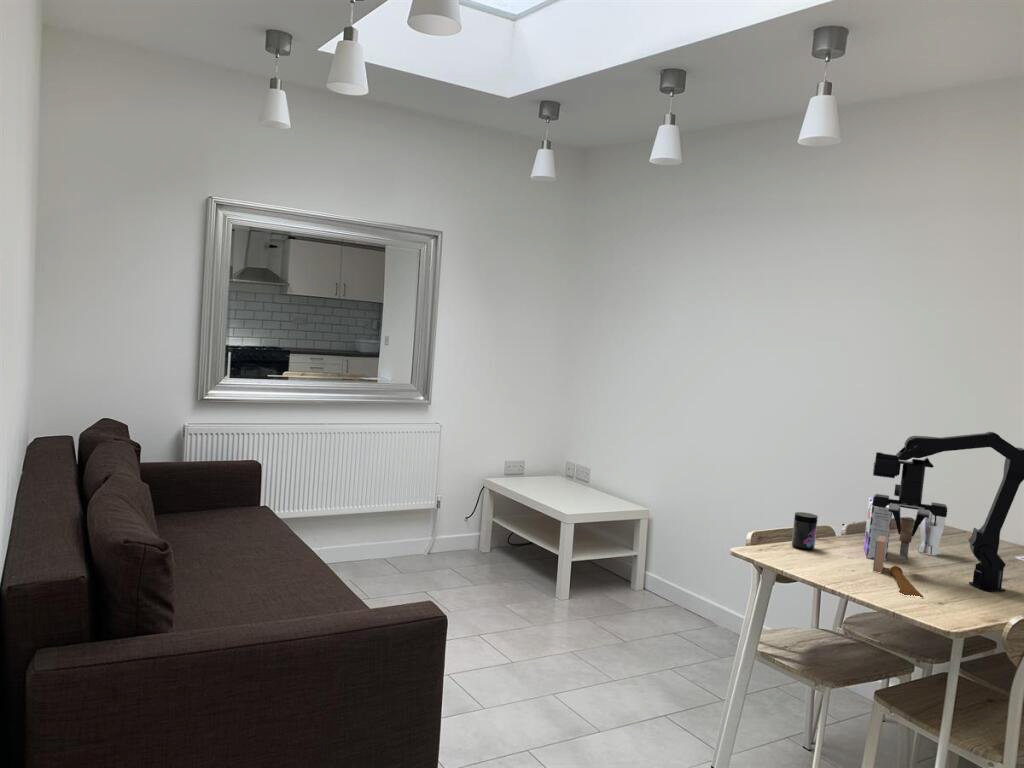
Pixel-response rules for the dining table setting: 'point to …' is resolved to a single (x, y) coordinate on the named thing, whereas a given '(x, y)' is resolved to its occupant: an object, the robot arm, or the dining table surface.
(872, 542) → the candy box
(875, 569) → the tan block
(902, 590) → the primitive tool
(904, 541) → the two-tone stacked blocks
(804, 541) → the supplement container
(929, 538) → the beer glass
